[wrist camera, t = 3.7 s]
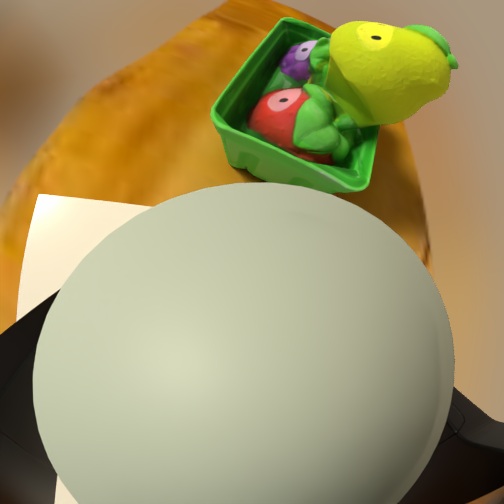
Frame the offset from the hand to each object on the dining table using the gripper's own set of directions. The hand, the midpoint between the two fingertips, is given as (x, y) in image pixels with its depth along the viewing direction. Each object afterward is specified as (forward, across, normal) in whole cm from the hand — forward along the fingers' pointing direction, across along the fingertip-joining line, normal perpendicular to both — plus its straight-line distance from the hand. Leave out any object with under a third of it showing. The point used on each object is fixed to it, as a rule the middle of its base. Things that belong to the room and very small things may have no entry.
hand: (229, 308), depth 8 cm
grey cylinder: (+3, 0, +5) cm, 6 cm away
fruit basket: (+13, -4, -3) cm, 14 cm away
